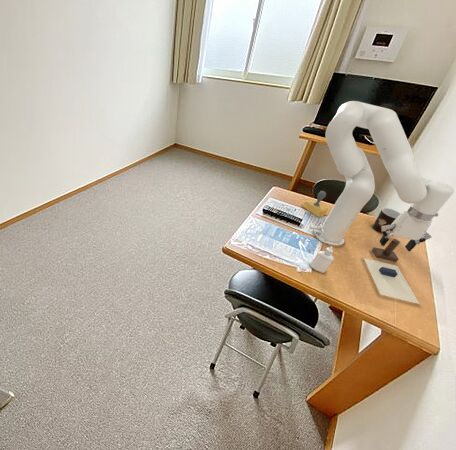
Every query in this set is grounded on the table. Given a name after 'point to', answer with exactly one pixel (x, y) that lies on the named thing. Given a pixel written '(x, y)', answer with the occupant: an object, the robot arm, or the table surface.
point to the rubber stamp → (316, 205)
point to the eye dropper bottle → (322, 260)
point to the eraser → (388, 272)
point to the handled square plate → (387, 251)
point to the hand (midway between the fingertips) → (394, 246)
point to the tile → (390, 282)
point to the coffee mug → (385, 218)
